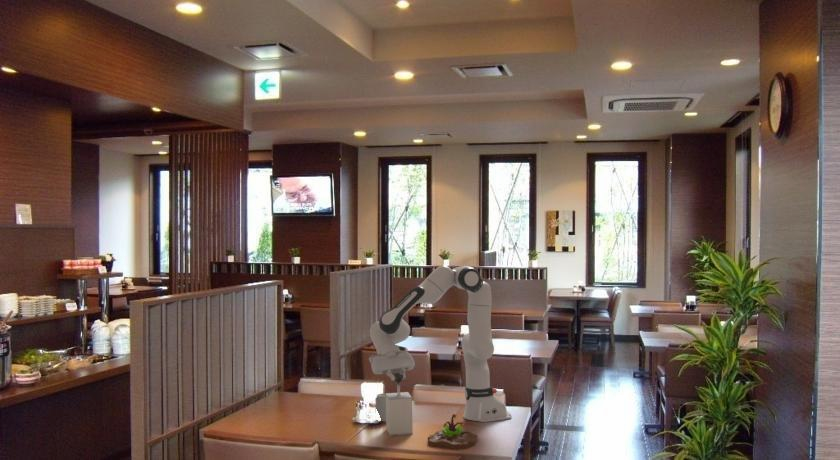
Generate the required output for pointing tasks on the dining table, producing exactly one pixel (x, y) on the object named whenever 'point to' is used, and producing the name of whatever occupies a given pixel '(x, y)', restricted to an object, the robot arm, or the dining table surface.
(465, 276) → the robot arm
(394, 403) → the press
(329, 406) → the dining table surface
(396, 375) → the plunger
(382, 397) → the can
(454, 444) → the plant
